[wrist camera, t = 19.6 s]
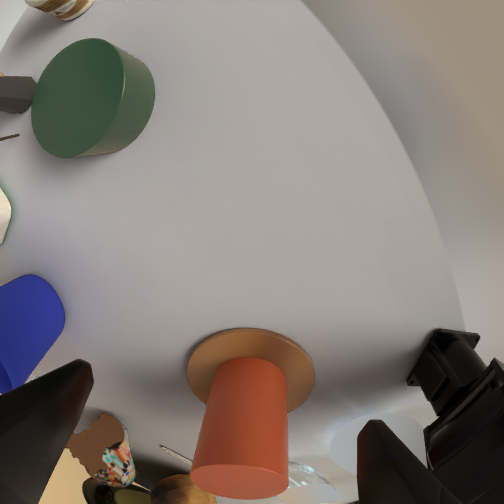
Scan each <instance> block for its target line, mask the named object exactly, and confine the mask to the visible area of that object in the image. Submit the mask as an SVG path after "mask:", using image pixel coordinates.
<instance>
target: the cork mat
mask: <svg viewBox="0 0 504 504" xmlns="http://www.w3.org/2000/svg"><path fill="white" fill-rule="evenodd" d="M240 357H255V358H260V359H264V360H266V361H269V362H271V363H273V364H274V365H276V366H277V367H278V368H279V369H280V370H281V371H282V372H283V374H284V376H285V378H286V389H287V413H289V412H291V411H293V410H294V409H296V408H297V407H299V406H300V405H301V404H302V403H303V402H304V401H305V400H306V399H307V398H308V396H309V395H310V393H311V391H312V389H313V386H314V380H315V375H314V369H313V364H312V362H311V359H310V358H309V356H308V354H307V353H306V352H305V351H304V350H303V349H302V348H301V347H300V346H299V345H298V344H297V343H295V342H294V341H292V340H291V339H289V338H287V337H285V336H283V335H281V334H278V333H275V332H272V331H268V330H263V329H256V328H237V329H231V330H226V331H223V332H219V333H217V334H214V335H212V336H210V337H208V338H207V339H205V340H204V341H203V342H201V343H200V344H199V345H198V346H197V347H196V348H195V350H194V351H193V353H192V354H191V357H190V359H189V362H188V366H187V378H188V382H189V384H190V387H191V389H192V390H193V392H194V393H195V395H196V396H197V397H198V398H199V399H200V400H201V401H202V402H203V403H204V404H206V405H207V402H208V398H209V394H210V390H211V386H212V382H213V378H214V374H215V372H216V370H217V369H218V368H219V367H220V366H221V365H222V364H223V363H225V362H227V361H229V360H231V359H235V358H240Z"/></svg>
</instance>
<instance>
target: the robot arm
mask: <svg viewBox="0 0 504 504" xmlns="http://www.w3.org/2000/svg"><path fill="white" fill-rule="evenodd" d="M479 339H480V336H479V335H478V334H477V333H470V332H461V331H453V330H446V329H438V330H436V331H435V332H434V334H433V336H432V338H431V339H430V341H429V343H428V345H427V347H426V348H425V350H424V352H423V354H422V355H421V357H420V359H419V360H418V362H417V364H416V365H415V367H414V369H413V370H412V372H411V373H410V375H409V377H408V378H407V380H406V383H407V385H408V386H420V387H421V389H422V391H423V393H424V395H425V397H426V399H427V401H430V403H431V405H432V407H433V409H434V411H435V413H436V415H437V416H440V417H439V418H437V419H436V420H435V421H434V422H433V423H432V424H431V425H429V426H427V427H426V428H425V429H423V432H424V440H425V447H426V459H427V467H428V469H427V468H426V467H425V466H424V465H423V464H422V463H421V461H420V460H419V459H418V458H417V457H416V456H415V455H414V454H413V453H412V452H411V451H410V450H409V449H408V448H407V447H406V446H405V444H404V443H403V442H402V441H401V440H400V439H399V438H398V437H397V436H396V435H395V434H394V433H393V432H392V431H391V430H390V428H389V427H388V426H387V425H386V424H385V423H384V422H383V421H382V420H369V421H368V422H367V424H366V425H365V426H364V427H363V429H362V430H361V431H360V433H359V435H358V437H357V484H358V495H359V504H504V364H503V363H502V362H500V361H499V360H497V359H496V358H493V360H492V361H491V362H490V365H489V366H488V367H487V366H486V365H485V363H484V362H483V361H482V359H481V358H480V357H479V356H478V354H477V353H476V352H475V351H474V348H475V347H476V345H477V343H478V341H479ZM93 384H94V379H93V374H92V369H91V365H90V363H89V362H87V361H84V360H82V359H77V360H74V361H72V362H70V363H68V364H66V365H64V366H62V367H60V368H58V369H55V370H53V371H51V372H49V373H47V374H45V375H43V376H41V377H38V378H36V379H34V380H32V381H30V382H28V383H26V384H23V385H21V386H19V387H17V388H15V389H13V390H10V391H8V392H6V393H4V394H2V395H0V504H38V503H39V501H40V498H41V496H42V494H43V492H44V490H45V487H46V485H47V483H48V481H49V479H50V477H51V475H52V472H53V471H54V468H55V466H56V464H57V462H58V460H59V458H60V456H61V454H62V452H63V450H64V448H65V447H66V445H67V443H68V441H69V439H70V437H71V435H72V433H73V431H74V429H75V428H76V426H77V424H78V422H79V419H80V417H81V414H82V412H83V409H84V407H85V404H86V402H87V399H88V397H89V394H90V392H91V390H92V387H93Z"/></svg>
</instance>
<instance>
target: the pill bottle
mask: <svg viewBox="0 0 504 504" xmlns="http://www.w3.org/2000/svg"><path fill="white" fill-rule="evenodd" d="M94 1H95V0H25V2H26V3H27V4H28V5H29V6H32V7H34V8H37V9H39V10H41V11H44V12H46V13H48V14H51V15H53V16H56V17H58V18H60V19H62V20H71V19H74V18H76V17H78V16H79V15H81V14H82V13H84V12H85V11H86V10H87V9H88V8H89V7H90V6H91V5H92V4H93V2H94Z"/></svg>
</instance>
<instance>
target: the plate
mask: <svg viewBox="0 0 504 504" xmlns="http://www.w3.org/2000/svg"><path fill="white" fill-rule="evenodd" d="M82 491H83V495H84V498H85V500H86V502H87V504H151V499H150V494H151V491H149V490H146V489H144V488H141V487H139V486H136V485H133V484H129V485H127V486H125V487H123V488H122V487H119V488H118V487H112V486H107V485H104V484H101V483H99V482H97V481H95V480H94V479H93V477H90V478H88V479H87V480H85V481H84V483H83V486H82Z"/></svg>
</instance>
